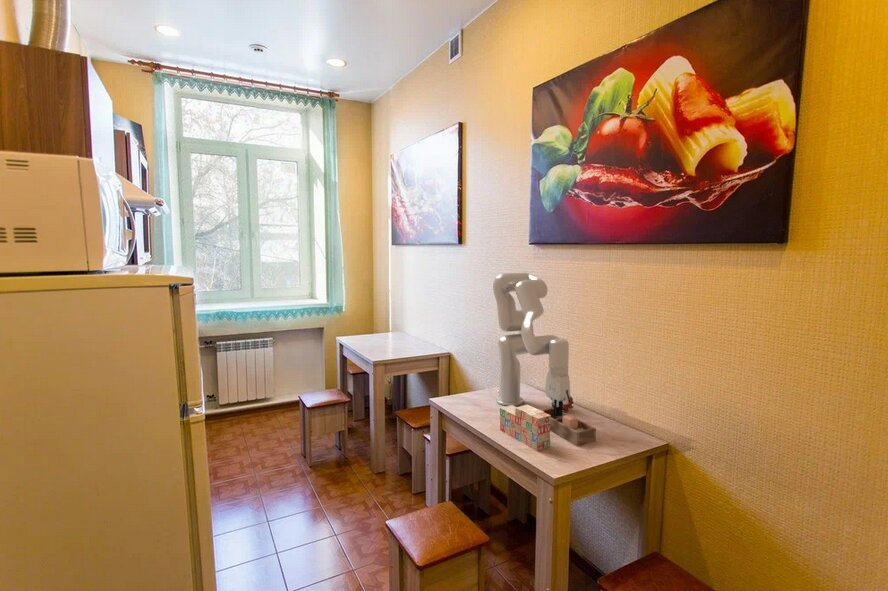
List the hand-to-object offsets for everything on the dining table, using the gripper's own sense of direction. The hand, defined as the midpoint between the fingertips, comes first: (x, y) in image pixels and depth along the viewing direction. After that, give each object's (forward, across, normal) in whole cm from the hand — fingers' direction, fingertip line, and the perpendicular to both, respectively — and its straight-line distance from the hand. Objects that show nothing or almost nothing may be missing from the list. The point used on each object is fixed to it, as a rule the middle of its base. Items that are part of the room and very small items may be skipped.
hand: (557, 415), depth 173 cm
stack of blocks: (+6, +2, -18) cm, 19 cm away
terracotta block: (+2, +7, 0) cm, 7 cm away
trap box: (+5, +4, 0) cm, 7 cm away
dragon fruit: (+5, -14, +14) cm, 20 cm away
